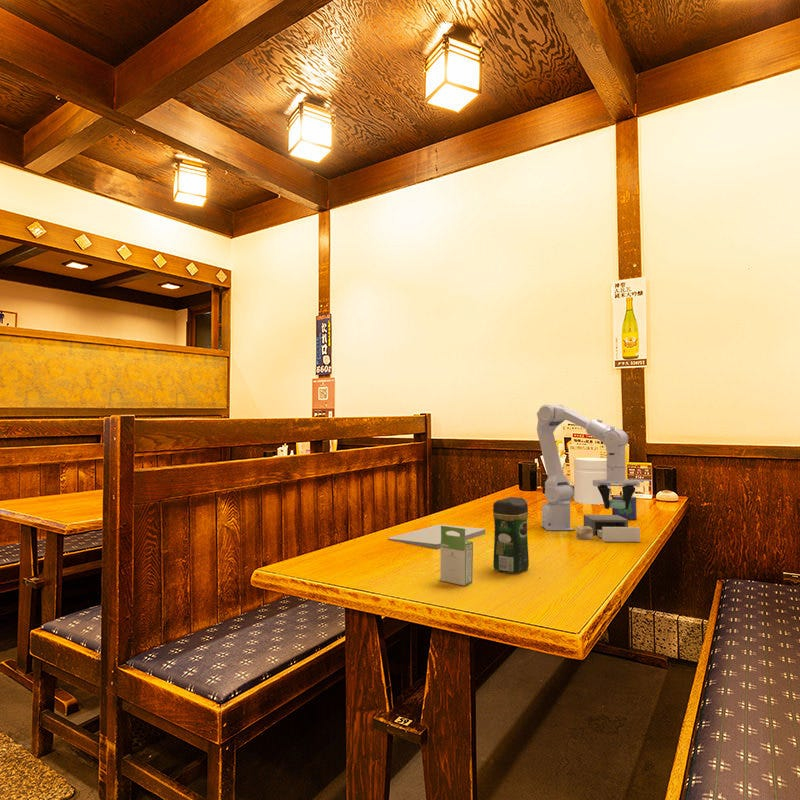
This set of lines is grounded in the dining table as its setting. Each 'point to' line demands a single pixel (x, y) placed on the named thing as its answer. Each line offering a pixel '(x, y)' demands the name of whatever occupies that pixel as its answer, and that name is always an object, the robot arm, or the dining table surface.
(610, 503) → the disc
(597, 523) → the block
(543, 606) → the dining table surface
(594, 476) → the canister
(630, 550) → the dining table surface
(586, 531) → the pedestal
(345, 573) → the dining table surface
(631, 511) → the flask
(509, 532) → the coffee jar
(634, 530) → the tray
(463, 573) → the ink box
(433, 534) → the electronic device
